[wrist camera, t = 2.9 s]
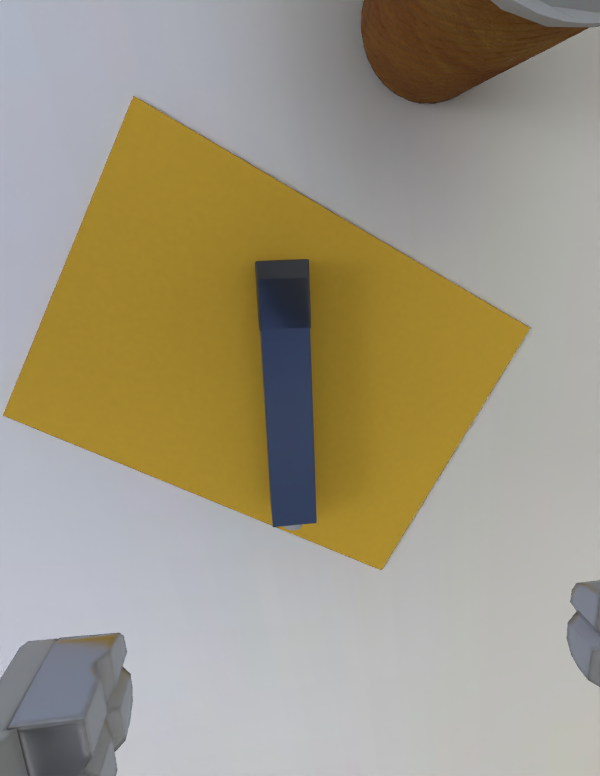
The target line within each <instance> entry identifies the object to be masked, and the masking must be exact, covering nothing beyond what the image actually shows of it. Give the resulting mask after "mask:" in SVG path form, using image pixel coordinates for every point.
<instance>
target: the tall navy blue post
mask: <svg viewBox="0 0 600 776" xmlns="http://www.w3.org/2000/svg"><path fill="white" fill-rule="evenodd" d="M255 276H256V292H257V308H258V324H259V330H260V340H261V356H262V372H263V388H264V404H265V421H266V437H267V453H268V469H269V485H270V501H271V512H272V523H273V527H280V526H284V527H285V528H286V529H287V530H298V529H300V528H301V527H302V525H303V524H312V523H317V515H316V485H315V456H314V427H313V397H312V368H311V339H310V329H311V306H310V276H309V259H296V260H270V261H256V262H255Z"/></svg>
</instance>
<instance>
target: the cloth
mask: <svg viewBox="0 0 600 776" xmlns="http://www.w3.org/2000/svg"><path fill="white" fill-rule="evenodd" d="M296 259H309V276H310V306H311V329H310V339H311V368H312V397H313V427H314V456H315V485H316V515H317V523H312V524H303V525H302V527H301V528H300V529H298V530H287V529H286V528H285V527H284V526H280V527H277V528H280V529H282V530H284V531H287V532H289V533H292V534H294V535H297V536H299V537H302V538H304V539H306V540H309V541H311V542H314V543H316V544H319V545H321V546H324V547H326V548H328V549H331V550H333V551H336V552H338V553H341V554H343V555H346V556H348V557H350V558H353V559H355V560H358V561H360V562H363V563H365V564H368V565H370V566H372V567H375V568H377V569H380V570H382V568H383V567H384V565H385V564H386V562H387V560H388V559H389V557H390V555H391V554H392V552H393V550H394V549H395V547H396V546H397V544H398V542H399V541H400V539H401V537H402V536H403V534H404V533H405V531H406V529H407V528H408V526H409V524H410V523H411V521H412V520H413V518H414V516H415V515H416V513H417V511H418V510H419V508H420V507H421V505H422V503H423V502H424V500H425V498H426V497H427V495H428V494H429V492H430V490H431V489H432V487H433V485H434V484H435V482H436V480H437V479H438V477H439V476H440V474H441V472H442V471H443V469H444V467H445V466H446V464H447V463H448V461H449V459H450V458H451V456H452V454H453V453H454V451H455V450H456V448H457V446H458V445H459V443H460V441H461V440H462V438H463V437H464V435H465V433H466V432H467V430H468V428H469V427H470V425H471V424H472V422H473V420H474V419H475V417H476V415H477V414H478V412H479V411H480V409H481V407H482V406H483V404H484V402H485V401H486V399H487V397H488V396H489V394H490V393H491V391H492V389H493V388H494V386H495V384H496V383H497V381H498V380H499V378H500V376H501V375H502V373H503V371H504V370H505V368H506V367H507V365H508V363H509V362H510V360H511V358H512V357H513V355H514V354H515V352H516V350H517V349H518V347H519V345H520V344H521V342H522V341H523V339H524V337H525V336H526V334H527V332H528V331H529V329H530V328H529V327H527V326H526V325H524V324H522V323H521V322H519V321H517V320H515V319H514V318H512V317H510V316H509V315H507V314H505V313H504V312H502V311H500V310H498V309H497V308H495V307H493V306H492V305H490V304H488V303H486V302H485V301H483V300H481V299H480V298H478V297H476V296H474V295H473V294H471V293H469V292H468V291H466V290H464V289H463V288H461V287H459V286H457V285H456V284H454V283H452V282H451V281H449V280H447V279H445V278H444V277H442V276H440V275H439V274H437V273H435V272H433V271H432V270H430V269H428V268H427V267H425V266H423V265H422V264H420V263H418V262H416V261H415V260H413V259H411V258H410V257H408V256H406V255H404V254H403V253H401V252H399V251H398V250H396V249H394V248H393V247H391V246H389V245H387V244H386V243H384V242H382V241H381V240H379V239H377V238H375V237H374V236H372V235H370V234H369V233H367V232H365V231H363V230H362V229H360V228H358V227H357V226H355V225H353V224H352V223H350V222H348V221H346V220H345V219H343V218H341V217H340V216H338V215H336V214H334V213H333V212H331V211H329V210H328V209H326V208H324V207H322V206H321V205H319V204H317V203H316V202H314V201H312V200H311V199H309V198H307V197H305V196H304V195H302V194H300V193H299V192H297V191H295V190H293V189H292V188H290V187H288V186H287V185H285V184H283V183H281V182H280V181H278V180H276V179H275V178H273V177H271V176H270V175H268V174H266V173H264V172H263V171H261V170H259V169H258V168H256V167H254V166H252V165H251V164H249V163H247V162H246V161H244V160H242V159H240V158H239V157H237V156H235V155H234V154H232V153H230V152H229V151H227V150H225V149H223V148H222V147H220V146H218V145H217V144H215V143H213V142H211V141H210V140H208V139H206V138H205V137H203V136H201V135H200V134H198V133H196V132H194V131H193V130H191V129H189V128H188V127H186V126H184V125H182V124H181V123H179V122H177V121H176V120H174V119H172V118H170V117H169V116H167V115H165V114H164V113H162V112H160V111H159V110H157V109H155V108H153V107H152V106H150V105H148V104H147V103H145V102H143V101H141V100H140V99H138V98H136V97H135V96H133V99H132V101H131V103H130V106H129V108H128V111H127V113H126V116H125V118H124V121H123V123H122V125H121V128H120V130H119V133H118V135H117V138H116V140H115V143H114V145H113V147H112V150H111V152H110V155H109V157H108V160H107V162H106V165H105V167H104V170H103V172H102V174H101V177H100V179H99V182H98V184H97V187H96V189H95V192H94V194H93V196H92V199H91V201H90V204H89V206H88V209H87V211H86V214H85V216H84V218H83V221H82V223H81V226H80V228H79V231H78V233H77V236H76V238H75V240H74V243H73V245H72V248H71V250H70V253H69V255H68V258H67V260H66V263H65V265H64V267H63V270H62V272H61V275H60V277H59V280H58V282H57V285H56V287H55V289H54V292H53V294H52V297H51V299H50V302H49V304H48V307H47V309H46V311H45V314H44V316H43V319H42V321H41V324H40V326H39V329H38V331H37V333H36V336H35V338H34V341H33V343H32V346H31V348H30V351H29V353H28V356H27V358H26V360H25V363H24V365H23V368H22V370H21V373H20V375H19V378H18V380H17V382H16V385H15V387H14V390H13V392H12V395H11V397H10V400H9V402H8V404H7V407H6V409H5V412H4V414H3V416H6V417H8V418H11V419H13V420H16V421H18V422H20V423H23V424H25V425H28V426H30V427H33V428H35V429H38V430H40V431H42V432H45V433H47V434H50V435H52V436H55V437H57V438H60V439H62V440H64V441H67V442H69V443H72V444H74V445H77V446H79V447H82V448H84V449H86V450H89V451H91V452H94V453H96V454H99V455H101V456H104V457H106V458H108V459H111V460H113V461H116V462H118V463H121V464H123V465H126V466H128V467H130V468H133V469H135V470H138V471H140V472H143V473H145V474H148V475H150V476H152V477H155V478H157V479H160V480H162V481H165V482H167V483H170V484H172V485H174V486H177V487H179V488H182V489H184V490H187V491H189V492H192V493H194V494H196V495H199V496H201V497H204V498H206V499H209V500H211V501H214V502H216V503H218V504H221V505H223V506H226V507H228V508H231V509H233V510H236V511H238V512H240V513H243V514H245V515H248V516H250V517H253V518H255V519H258V520H260V521H262V522H265V523H267V524H270V525H272V526H273V523H272V512H271V501H270V485H269V469H268V453H267V437H266V421H265V404H264V388H263V372H262V356H261V340H260V330H259V324H258V308H257V292H256V276H255V262H256V261H270V260H296Z"/></svg>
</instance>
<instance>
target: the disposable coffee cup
mask: <svg viewBox="0 0 600 776" xmlns="http://www.w3.org/2000/svg"><path fill="white" fill-rule="evenodd" d="M596 26H600V0H364V2H363V7H362V16H361V31H362V37H363V43H364V48H365V51H366V54H367V57H368V60H369V62H370V64H371V66H372V68H373V70H374V72H375V73H376V75H377V76H378V77H379V78H380V80H381V81H382V82H383V83H384V85H385V86H387V87H388V88H389V89H390V90H391V91H393V92H394V93H395V94H397V95H399V96H401V97H403V98H405V99H407V100H409V101H413V102H417V103H438V102H442V101H446V100H449V99H452V98H454V97H456V96H458V95H460V94H461V93H463V92H465V91H467V90H469V89H471V88H473V87H475V86H477V85H479V84H481V83H483V82H484V81H486V80H488V79H490V78H492V77H494V76H496V75H498V74H500V73H502V72H504V71H506V70H508V69H510V68H512V67H514V66H516V65H518V64H519V63H521V62H524V61H526V60H528V59H529V58H531V57H533V56H535V55H537V54H539V53H541V52H543V51H545V50H547V49H549V48H551V47H553V46H555V45H557V44H559V43H561V42H563V41H565V40H566V39H568V38H570V37H572V36H574V35H576V34H578V33H580V32H582V31H583V30H585V29H587V28H589V27H596Z"/></svg>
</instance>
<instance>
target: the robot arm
mask: <svg viewBox="0 0 600 776" xmlns="http://www.w3.org/2000/svg"><path fill="white" fill-rule="evenodd" d="M570 602H571V604H572V605H573V606H574V608H575V609H576V611H577V612H576V613H575V614H574V615H573V617H572V618H571V619H570V620H569V622H568V626H567V641H568V645H569V649H570V652H571V655H572V657H573V659H574V661H575V663H576V664H577V666H578V668H579V669H580V670H581V672H582V673H583V674H584V675H585V677H586V678H587V679H588V680H589V681H591V682H592V683H594V684H596V685H598V686H599V687H600V580H598V581H589V582H581V583H576V585H575V586H574V588H573V589H572V593H571V600H570ZM126 653H127V650H126V645H125V640H124V636H123V635H122V634H120V633H111V634H99V635H87V636H75V637H64V638H59V639H47V640H35V641H28V642H27V643H25V644H24V645H23V646H21V647H20V648H19V650H18V651H17V653H16V655H15V656H14V658H13V659H12V661H11V663H10V664H9V666H8V667H7V669H6V670H5V672H4V674H3V675H2V677H1V678H0V776H116V773H117V764H116V758H115V751H116V750H117V749H118V748H119V747H120V746H121V745H122V744H123V742H124V741H125V740H126V736H127V732H128V728H129V724H130V719H131V710H132V702H133V696H132V681H131V674H130V673H129V672H128V671H127V670H126V669H125V668H123V667H122V666H123V663H124V660H125V657H126Z"/></svg>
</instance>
